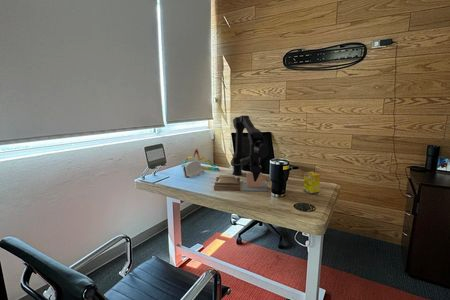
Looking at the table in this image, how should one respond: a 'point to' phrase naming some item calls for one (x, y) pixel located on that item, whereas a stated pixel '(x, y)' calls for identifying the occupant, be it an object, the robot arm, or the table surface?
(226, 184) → the walnut rack
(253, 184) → the terracotta board
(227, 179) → the offcut stack
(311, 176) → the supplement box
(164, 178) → the table surface
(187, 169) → the beige rounded block
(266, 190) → the charcoal mat
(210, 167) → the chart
